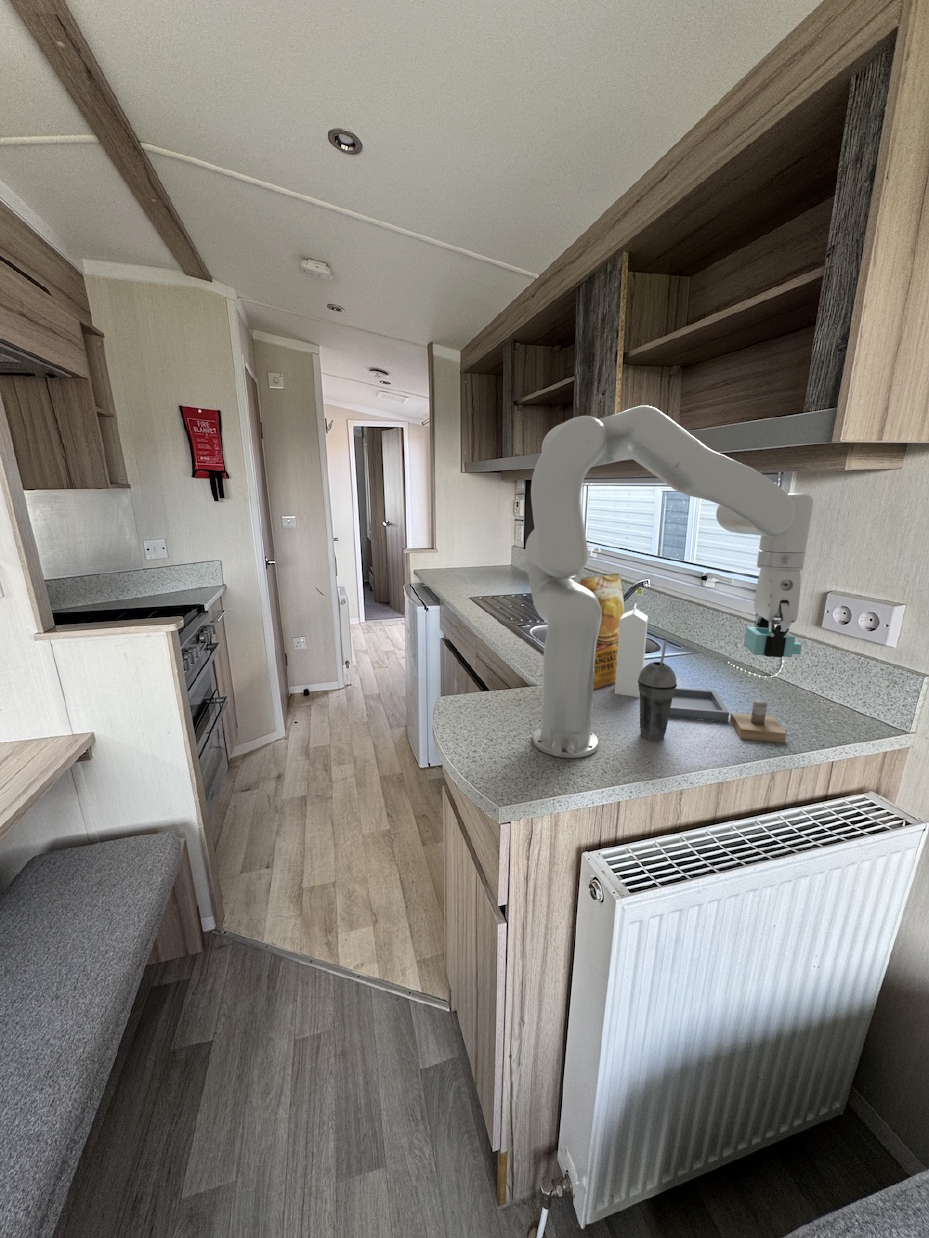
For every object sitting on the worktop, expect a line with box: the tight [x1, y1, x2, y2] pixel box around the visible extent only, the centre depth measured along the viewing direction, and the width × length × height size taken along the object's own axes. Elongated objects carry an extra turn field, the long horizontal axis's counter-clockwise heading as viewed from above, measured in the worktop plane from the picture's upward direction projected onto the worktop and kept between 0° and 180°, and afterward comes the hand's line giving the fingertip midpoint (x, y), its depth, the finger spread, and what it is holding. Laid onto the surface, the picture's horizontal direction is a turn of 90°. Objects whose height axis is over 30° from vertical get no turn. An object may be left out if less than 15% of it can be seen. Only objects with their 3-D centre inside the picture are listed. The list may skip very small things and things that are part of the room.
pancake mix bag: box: [577, 573, 626, 690], centre depth 129 cm, size 7×19×28 cm, turn 124°
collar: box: [743, 626, 803, 658], centre depth 99 cm, size 7×9×4 cm
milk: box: [614, 603, 649, 698], centre depth 123 cm, size 6×6×22 cm
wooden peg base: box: [729, 699, 787, 744], centre depth 103 cm, size 8×8×6 cm
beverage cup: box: [638, 640, 678, 742], centre depth 100 cm, size 7×7×20 cm
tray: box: [669, 687, 730, 723], centre depth 116 cm, size 13×13×2 cm
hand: (767, 650), depth 100 cm, fingers closed on collar, 6 cm apart
